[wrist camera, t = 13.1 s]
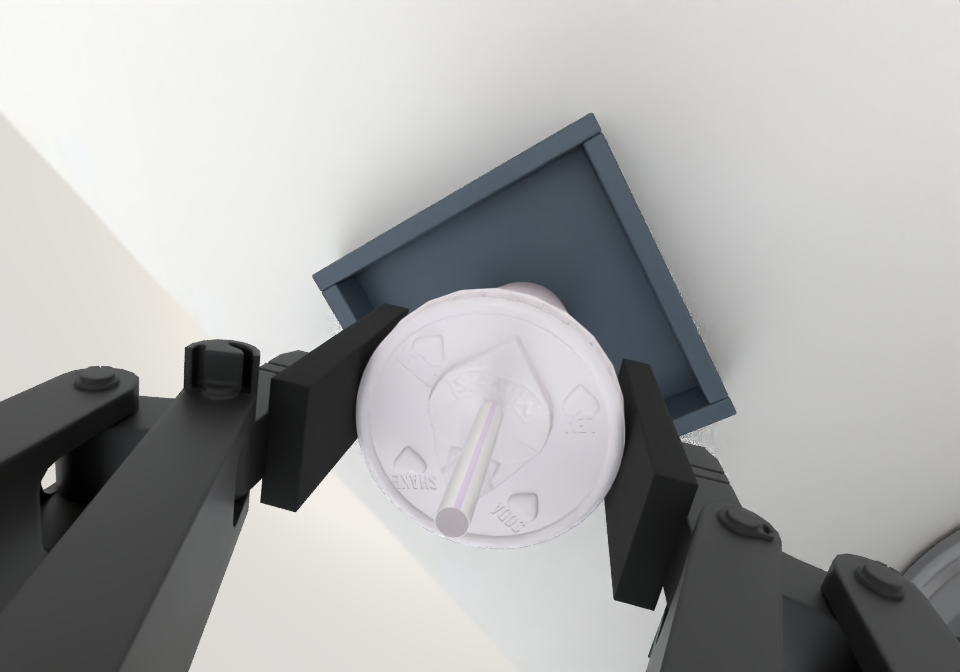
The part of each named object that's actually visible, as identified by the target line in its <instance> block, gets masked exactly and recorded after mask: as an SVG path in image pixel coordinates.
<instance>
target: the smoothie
mask: <svg viewBox="0 0 960 672" xmlns="http://www.w3.org/2000/svg"><path fill="white" fill-rule="evenodd" d="M356 427H357V435H358V439H359V444H360V447H361V451H362V454H363V457H364V459H365V462H366V464H367V467H368V468H369V470H370V472H371V474H372V476H373V478H374V479H375V481H376V482H377V484H378V486H379V487H380V488H381V490H382V491H383V492H384V494H385V495H386V496H387V497H388V498H389V500H390V501H391V502H392V503H393V504H394V505H395V506H396V507H397V508H398V509H399V510H400V511H402V512H403V513H404V514H405V515H406V516H407V517H409V518H410V519H411V520H413V521H414V522H415V523H417V524H419V525H420V526H422V527H423V528H425V529H427V530H429V531H430V532H432V533H434V534H436V535H439V536H441V537H443V538H446V539H448V540H451V541H454V542H457V543H460V544H465V545H469V546H474V547H480V548H490V549H510V548H520V547H525V546H531V545H535V544H538V543H542V542H545V541H547V540H550V539H552V538H555V537H557V536H559V535H561V534H563V533H565V532H567V531H568V530H570V529H572V528H573V527H575V526H576V525H578V524H579V523H580V522H581V521H583V520H584V519H585V518H586V517H587V516H588V515H590V514H591V513H592V512H593V511H594V510H595V509H596V507H597V506H598V505H599V504H600V503H601V501H602V500H603V499H604V497H605V496H606V494H607V493H608V491H609V490H610V488H611V486H612V484H613V482H614V480H615V478H616V475H617V473H618V470H619V467H620V464H621V460H622V456H623V451H624V444H625V421H624V398H623V395H622V392H621V388H620V385H619V382H618V379H617V376H616V373H615V370H614V366H613V365H612V363H611V361H610V360H609V358H608V357H607V355H606V354H605V352H604V351H603V349H602V348H601V346H600V345H599V343H598V342H597V340H596V339H595V337H594V336H593V335H592V334H591V333H590V332H589V331H587V330H586V329H585V328H584V327H583V326H582V325H581V324H579V323H578V322H577V321H576V320H575V319H574V318H573V317H571V316H570V315H569V314H568V312H567V310H566V309H565V307H564V305H563V304H562V302H561V301H560V299H559V298H558V297H557V296H556V295H555V294H554V293H553V292H551V291H550V290H548V289H547V288H545V287H543V286H541V285H538V284H535V283H531V282H513V283H509V284H506V285H503V286H500V287H498V288H487V289H470V290H460V291H457V292H454V293H451V294H448V295H445V296H442V297H439V298H436V299H433V300H430V301H428V302H426V303H425V304H423V305H422V306H421V307H419V308H418V309H416V310H415V311H413V312H412V313H410V314H409V315H407V316H406V317H404V318H403V319H401V321H400V322H399V323H398V324H397V325H396V327H395V328H394V329H393V330H392V331H391V332H390V333H389V334H388V336H387V337H386V338H385V339H384V340H383V341H382V342H381V343H380V345H379V346H378V348H377V349H376V350H375V352H374V353H373V355H372V357H371V358H370V360H369V362H368V364H367V366H366V368H365V371H364V373H363V376H362V379H361V382H360V385H359V390H358V394H357V402H356Z"/></svg>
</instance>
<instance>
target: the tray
mask: <svg viewBox="0 0 960 672" xmlns="http://www.w3.org/2000/svg"><path fill="white" fill-rule="evenodd" d="M600 132H601V129H600V127H599V124H598V122H597V120H596V118H595V116H594V114H593V113H589V114H587V115H586V116H584V117H582V118H581V119H579V120H577V121H575V122H574V123H572V124H570V125H569V126H567V127H565V128H563V129H562V130H560V131H558V132H557V133H555V134H553V135H551V136H550V137H548V138H546V139H545V140H543V141H541V142H539V143H538V144H536V145H534V146H533V147H531V148H529V149H527V150H526V151H524V152H522V153H521V154H519V155H517V156H515V157H514V158H512V159H510V160H509V161H507V162H505V163H503V164H502V165H500V166H498V167H497V168H495V169H493V170H491V171H490V172H488V173H486V174H485V175H483V176H481V177H479V178H478V179H476V180H474V181H473V182H471V183H469V184H467V185H466V186H464V187H462V188H461V189H459V190H457V191H455V192H454V193H452V194H450V195H449V196H447V197H445V198H443V199H442V200H440V201H438V202H437V203H435V204H433V205H431V206H430V207H428V208H426V209H425V210H423V211H421V212H419V213H418V214H416V215H414V216H413V217H411V218H409V219H407V220H406V221H404V222H402V223H401V224H399V225H397V226H395V227H394V228H392V229H390V230H389V231H387V232H385V233H383V234H382V235H380V236H378V237H377V238H375V239H373V240H371V241H370V242H368V243H366V244H365V245H363V246H361V247H359V248H358V249H356V250H354V251H353V252H351V253H349V254H347V255H346V256H344V257H342V258H341V259H339V260H337V261H335V262H334V263H332V264H330V265H329V266H327V267H325V268H323V269H322V270H320V271H318V272H317V273H315V274H313V276H312V277H313V279H314V281H315V282H316V284H317V286H318V287H319V289H320V290H321V291H323V292H322V294H323V296H324V298H325V299H326V301H327V303H328V304H329V306H330V308H331V309H332V311H333V313H334V314H335V316H336V318H337V319H338V321H339V323H340V324H341V326H342V328H343V329H346V328H347V327H349V326H350V325H352V324H353V323H355V322H356V321H358V320H359V319H361V318H362V317H364V316H365V315H367V314H368V313H370V312H372V311H373V310H375V309H376V308H378V307H379V306H381V305H382V304H384V303H387V304H392V305H396V306H400V307H404V308H409V311H408V315H409V314H410V313H412V312H413V311H415V310H416V309H418V308H419V307H421V306H422V305H423V304H425V303H426V302H428V301H430V300H433V299H436V298H439V297H442V296H445V295H448V294H451V293H454V292H457V291H460V290H470V289H487V288H498V287H500V286H503V285H506V284H509V283H513V282H531V283H535V284H538V285H541V286H543V287H545V288H547V289H548V290H550V291H551V292H553V293H554V294H555V295H556V296H557V297H558V298H559V299H560V301H561V302H562V304H563V305H564V307H565V309H566V310H567V312H568V314H569V315H570V316H571V317H573V318H574V319H575V320H576V321H577V322H578V323H579V324H581V325H582V326H583V327H584V328H585V329H586V330H587V331H589V332H590V333H591V334H592V335H593V336H594V337H595V339H596V340H597V342H598V343H599V345H600V346H601V348H602V349H603V351H604V352H605V354H606V355H607V357H608V358H609V360H610V361H611V363H612V365H613V366H614V370H615V373H616V376H617V378H618V374H619V371H620V367H621V364H622V360H623V358H625V359H629V360H633V361H638V362H642V363H646V364H650V366H651V369H652V371H653V374H654V376H655V379H656V381H657V384H658V386H659V389H660V391H661V394H662V396H663V398H664V401H665V403H666V406H667V408H668V411H669V413H670V416H671V418H672V421H673V423H674V426H675V428H676V431H677V433H678V435H679V436H682V435H684V434H687V433H689V432H692V431H694V430H697V429H700V428H702V427H705V426H707V425H710V424H712V423H715V422H717V421H720V420H722V419H725V418H727V417H730V416H732V415H735V414H736V410H735V408H734V406H733V404H732V402H731V399H730V398H729V396H728V393H727V391H726V389H725V387H724V385H723V383H722V381H721V379H720V377H719V375H718V372H717V370H716V368H715V366H714V364H713V362H712V360H711V358H710V356H709V354H708V352H707V350H706V347H705V345H704V343H703V341H702V339H701V337H700V335H699V333H698V331H697V329H696V327H695V325H694V322H693V320H692V318H691V316H690V314H689V312H688V310H687V308H686V306H685V304H684V302H683V300H682V297H681V295H680V293H679V291H678V289H677V287H676V285H675V283H674V281H673V279H672V277H671V275H670V272H669V270H668V268H667V266H666V264H665V262H664V260H663V258H662V256H661V254H660V252H659V250H658V247H657V245H656V243H655V241H654V239H653V237H652V235H651V233H650V231H649V229H648V227H647V224H646V222H645V220H644V218H643V216H642V214H641V212H640V210H639V208H638V206H637V204H636V202H635V199H634V197H633V195H632V193H631V191H630V189H629V187H628V185H627V183H626V181H625V179H624V177H623V174H622V172H621V170H620V168H619V166H618V164H617V162H616V160H615V158H614V156H613V154H612V152H611V149H610V147H609V145H608V143H607V141H606V139H605V137H604V135H603V134H602V133H600Z"/></svg>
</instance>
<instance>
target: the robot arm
mask: <svg viewBox="0 0 960 672" xmlns="http://www.w3.org/2000/svg"><path fill="white" fill-rule="evenodd" d="M408 311H409V308H404V307H400V306H396V305H392V304H387V303H384V304H382V305H381V306H379V307H378V308H376V309H375V310H373V311H372V312H370V313H368V314H367V315H365V316H364V317H362V318H361V319H359V320H358V321H356V322H355V323H353V324H352V325H350V326H349V327H347V328H346V329H344V330H343V331H341V332H340V333H338V334H337V335H335V336H334V337H332V338H331V339H329V340H328V341H326V342H325V343H323V344H322V345H320V346H319V347H317V348H316V349H314V350H313V351H311V352H310V353H308V352H304V351H300V350H297V351H293V352H289V353H284V354H280V355H279V356H277V357H275V358H274V359H272V360H270V361H269V362H268V363H265V364H264V365H262V366H260V367H259V365H260V351H259V350H258V349H257V348H256V347H255V346H252V345H250V344H247V343H244V342H239V341H234V340H219V339H217V340H204V341H200V342H196V343H192V344H190V345H189V346H187V347H185V362H184V388H183V390H182V391H181V392H180V393H179V395H178V396H177V397H176V398H175V399H173V398H172V399H171V398H159V397H148V396H139V377H138V376H136V375H135V374H134V373H132V372H129V371H126V370H123V369H117V368H112V367H109V366H101V368H100V367H99V366H92V367H88V368H86V369H80V370H74V371H71V372H68V373H65V374H62V375H60V376H58V377H55V378H53V379H51V380H48V381H46V382H44V383H42V384H39V385H37V386H35V387H33V388H30V389H28V390H26V391H24V392H21V393H19V394H17V395H15V396H12V397H10V398H8V399H6V400H4V401H1V402H0V672H188V671H189V668H190V666H191V663H192V660H193V658H194V655H195V652H196V649H197V646H198V644H199V641H200V639H201V636H202V633H203V631H204V628H205V625H206V623H207V620H208V617H209V615H210V612H211V609H212V606H213V604H214V601H215V598H216V596H217V593H218V590H219V588H220V585H221V582H222V579H223V577H224V574H225V571H226V569H227V566H228V563H229V561H230V558H231V555H232V553H233V550H234V547H235V545H236V542H237V539H238V536H239V534H240V531H241V528H242V525H243V523H244V520H245V518H246V515H247V512H248V507H249V493H250V489H251V488H253V487H254V485H256V484H257V483H258V482H259V481H260V480H261V479H262V489H261V501H260V502H261V503H264V504H267V505H271V506H275V507H278V508H282V509H285V510H289V511H293V512H296V511H297V510H298V509H299V508H300V507H301V505H302V504H303V503H304V501H306V499H307V498H308V497H309V496H310V495H311V493H312V492H313V491H314V490H315V489H316V487H317V486H318V485H319V484H320V483H321V481H322V480H323V479H324V478H325V477H326V475H327V474H328V473H329V472H330V471H331V469H332V468H333V467H334V466H335V465H336V463H337V462H338V461H339V460H340V458H341V457H342V456H343V455H344V454H345V452H346V451H347V450H348V449H349V448H350V446H351V445H352V444H353V443H354V442H355V440H356V439H357V438H358V435H357V427H356V402H357V394H358V390H359V385H360V382H361V379H362V376H363V373H364V371H365V368H366V366H367V364H368V362H369V360H370V358H371V357H372V355H373V353H374V352H375V350H376V349H377V348H378V346H379V345H380V343H381V342H382V341H383V340H384V339H385V338H386V337H387V336H388V334H389V333H390V332H391V331H392V330H393V329H394V328H395V327H396V325H397V324H398V323H399V322H400V321H401V319H403V318H404V317H406V316H407V315H408ZM617 379H618V382H619V385H620V388H621V392H622V395H623V398H624V421H625V444H624V451H623V456H622V460H621V464H620V467H619V470H618V473H617V475H616V478H615V480H614V482H613V484H612V486H611V488H610V490H609V491H608V493H607V494H606V496H605V497H604V502H605V512H606V523H607V533H608V544H609V555H610V565H611V576H612V587H613V597H614V600H616V601H620V602H624V603H627V604H631V605H634V606H638V607H642V608H645V609H649V610H653V611H654V610H655V607H656V604H657V601H658V599H659V596H660V593H661V590H662V587H664V592H665V596H666V601H667V605H666V608H665V611H664V614H663V616H662V619H661V622H660V625H659V627H658V630H657V633H656V636H655V638H654V641H653V644H652V647H651V649H650V652H649V655H648V657H649V658H650V660H649V663H648V667H647V670H646V672H960V529H959V530H957V531H956V532H954V533H953V534H951V535H950V536H948V537H947V538H945V539H944V540H942V541H940V542H939V543H938V544H937V545H935V546H934V547H933V548H931V549H930V550H929V551H928V552H926V553H925V554H924V555H923V556H922V557H921V558H920V559H918V560H917V561H916V562H915V563H914V564H913V565H912V566H911V567H910V568H909V569H908V570H907V571H906V573H905V574H904V575H903V576H902V575H901V574H900V573H899V572H898V571H896V570H895V569H893V568H891V567H889V568H888V567H887V565H885V564H883V563H881V562H879V561H873V560H870V559H868V558H865V557H862V556H857V555H852V554H842V555H837V556H836V558H835V559H834V560H833V562H832V564H831V566H830V568H829V571H828V572H826V571H824V570H821V569H819V568H817V567H814V566H812V565H810V564H807V563H805V562H803V561H800V560H798V559H796V558H794V557H792V556H790V555H788V554H786V553H784V552H782V544H781V539H780V536H779V534H778V532H777V531H776V530H775V529H774V528H773V527H772V525H771V524H770V523H768V522H767V521H765V520H764V519H763V518H761V517H760V516H758V515H757V514H755V513H753V512H751V511H749V510H747V509H745V508H743V507H742V506H741V504H740V502H739V500H738V498H737V496H736V495H735V493H734V491H733V489H732V487H731V485H729V481H728V479H727V477H726V475H724V471H723V469H722V467H721V465H720V463H719V461H718V460H717V459H716V458H715V457H714V456H713V455H712V454H710V453H709V452H708V451H707V450H706V449H705V448H704V447H700V446H696V445H691V444H687V443H683V442H681V440H680V438H679V435H678V433H677V431H676V428H675V426H674V423H673V421H672V418H671V416H670V413H669V411H668V408H667V406H666V403H665V401H664V398H663V396H662V394H661V391H660V389H659V386H658V384H657V381H656V379H655V376H654V374H653V371H652V369H651V366H650V364H646V363H642V362H638V361H633V360H629V359H625V358H623V360H622V364H621V367H620V371H619V374H618V378H617ZM54 462H55V466H56V482H55V483H54V484H53V485H51V486H50V487H48V488H46V489H44V490H43V488H42V486H41V480H42V478H43V477H44V475H45V473H46V471H47V469H48V468H49V467H50V466H51V465H52V464H53V463H54Z"/></svg>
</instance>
